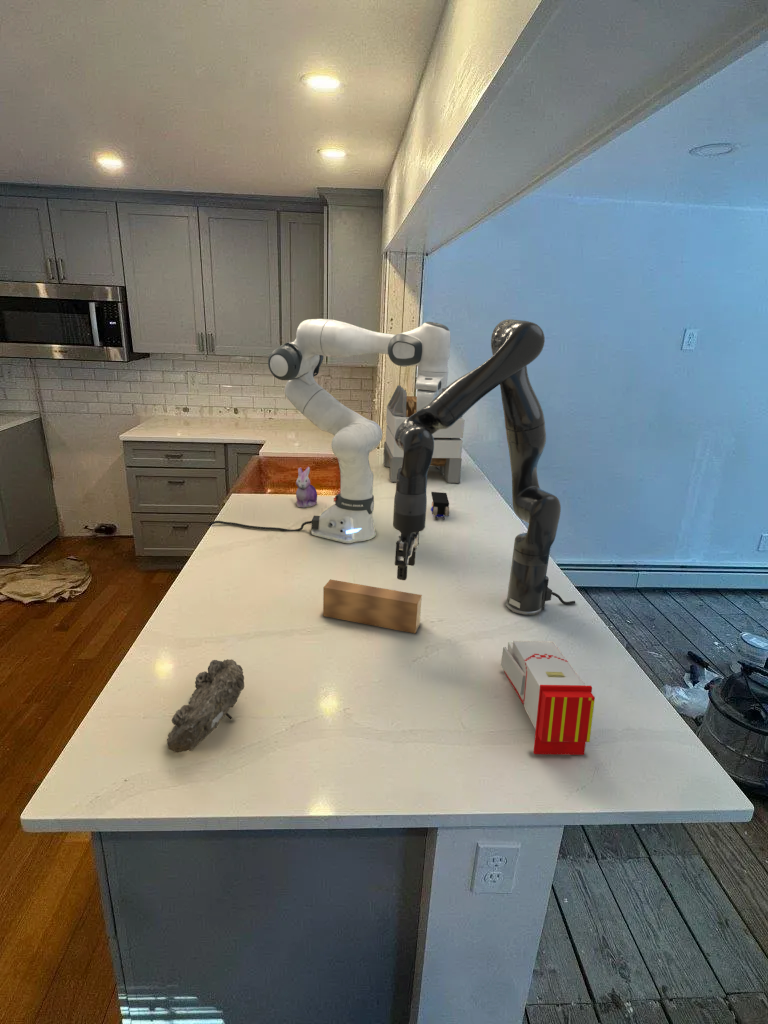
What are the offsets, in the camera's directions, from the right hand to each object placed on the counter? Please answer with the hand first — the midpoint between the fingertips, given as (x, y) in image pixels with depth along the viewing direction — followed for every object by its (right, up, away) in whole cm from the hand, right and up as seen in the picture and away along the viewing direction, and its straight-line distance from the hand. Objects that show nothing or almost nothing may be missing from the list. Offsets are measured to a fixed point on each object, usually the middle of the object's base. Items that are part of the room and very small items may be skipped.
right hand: (406, 571), depth 137 cm
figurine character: (+16, +13, +82) cm, 85 cm away
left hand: (+8, +40, +33) cm, 53 cm away
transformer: (+12, +33, +138) cm, 142 cm away
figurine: (-36, +17, +88) cm, 97 cm away
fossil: (-38, -25, -29) cm, 54 cm away
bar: (-9, -13, +7) cm, 17 cm away
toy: (+26, -25, -22) cm, 42 cm away
